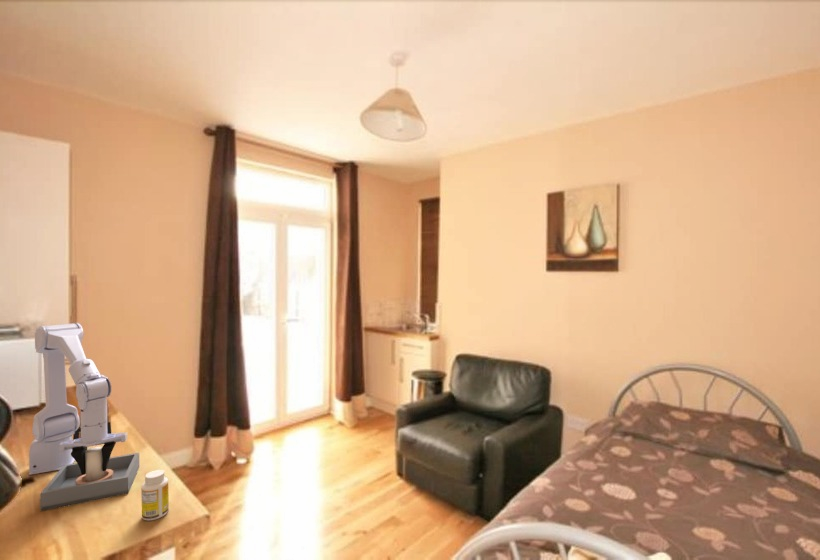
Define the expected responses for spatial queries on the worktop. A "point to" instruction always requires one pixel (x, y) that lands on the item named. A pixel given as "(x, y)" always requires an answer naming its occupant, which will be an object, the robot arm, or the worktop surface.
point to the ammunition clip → (78, 431)
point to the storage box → (89, 483)
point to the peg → (94, 464)
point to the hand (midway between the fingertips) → (94, 471)
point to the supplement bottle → (155, 495)
